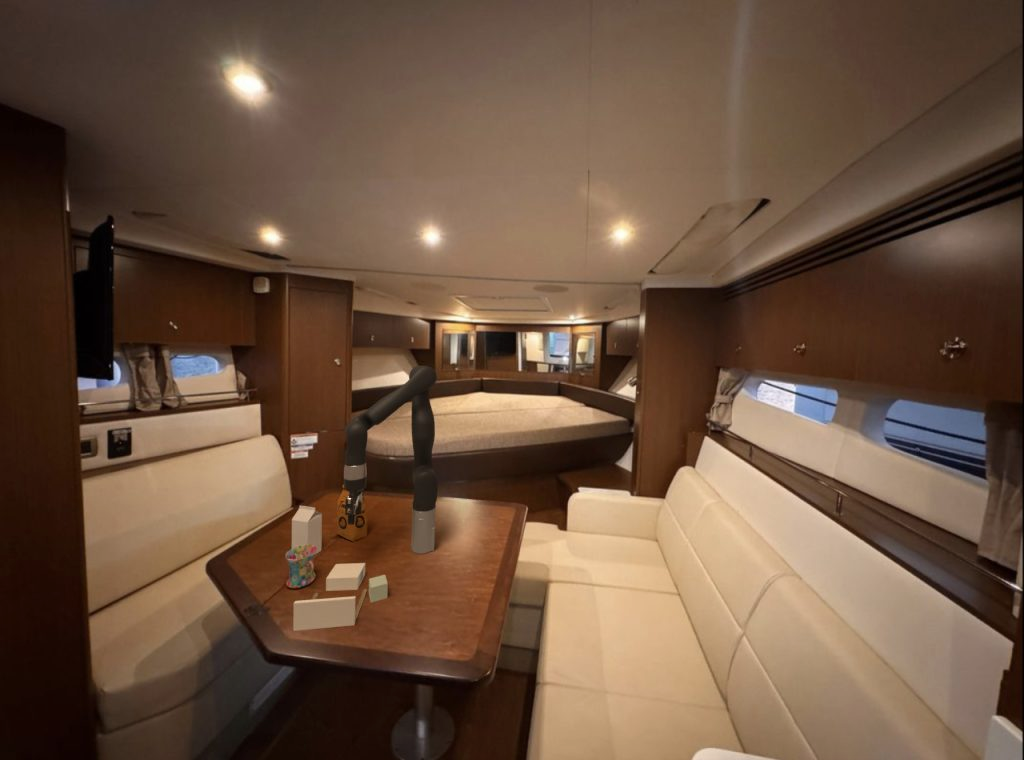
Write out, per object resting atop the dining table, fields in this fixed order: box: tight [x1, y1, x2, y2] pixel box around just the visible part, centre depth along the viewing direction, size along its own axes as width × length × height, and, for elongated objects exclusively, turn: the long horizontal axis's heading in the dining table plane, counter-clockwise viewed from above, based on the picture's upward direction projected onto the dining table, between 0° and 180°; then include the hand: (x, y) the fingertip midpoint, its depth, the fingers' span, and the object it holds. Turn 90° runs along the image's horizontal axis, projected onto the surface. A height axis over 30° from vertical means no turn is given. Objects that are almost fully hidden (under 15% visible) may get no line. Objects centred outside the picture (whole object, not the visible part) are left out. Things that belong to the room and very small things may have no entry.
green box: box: [368, 574, 389, 604], centre depth 108 cm, size 5×5×5 cm
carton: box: [325, 562, 366, 592], centre depth 114 cm, size 10×8×4 cm
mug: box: [284, 545, 317, 589], centre depth 112 cm, size 12×9×11 cm
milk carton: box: [291, 505, 323, 556], centre depth 129 cm, size 7×7×19 cm
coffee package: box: [336, 484, 369, 543], centre depth 144 cm, size 10×12×22 cm
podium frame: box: [310, 588, 368, 622], centre depth 102 cm, size 16×13×1 cm
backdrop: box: [292, 595, 357, 632], centre depth 95 cm, size 16×1×8 cm, turn 100°
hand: (354, 518), depth 122 cm, fingers open, 8 cm apart
